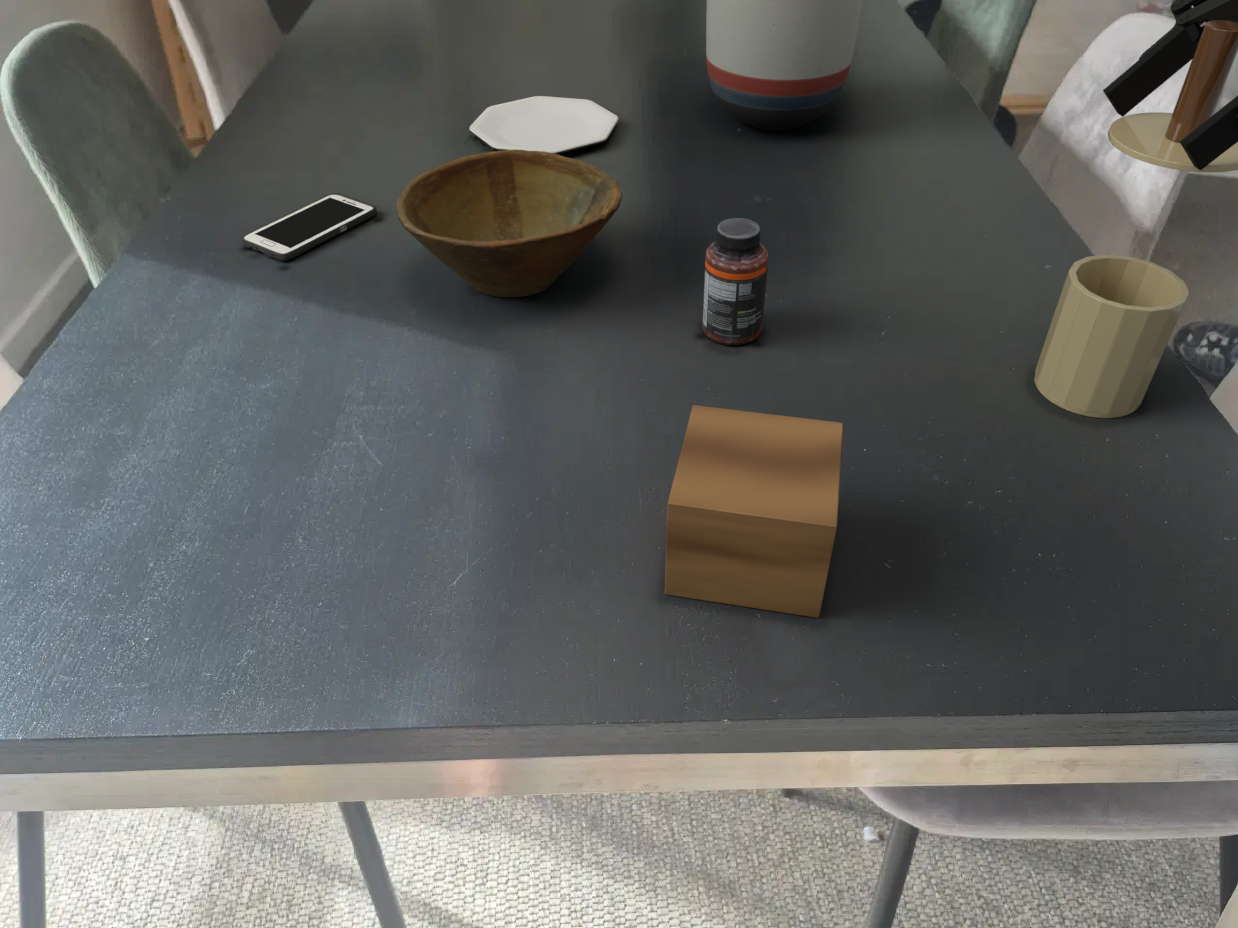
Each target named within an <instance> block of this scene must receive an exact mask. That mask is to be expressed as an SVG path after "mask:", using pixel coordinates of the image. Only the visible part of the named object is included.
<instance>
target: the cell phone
mask: <svg viewBox="0 0 1238 928" xmlns="http://www.w3.org/2000/svg"><path fill="white" fill-rule="evenodd" d="M377 214H378V212H377V207H376V206H375V205H373V204H371V203H368V202H365V201H364V200H360V199H358V198H357V199H356V198H354V197H352V196H348V195H346V194H342V193H339V192H331V193H329V194H327V195H325V196H322V197H320V198H318V199H316V200H314V201H312V202H310V203H308V204H305V205H304V206H301V207H299V208H297V209H295V210H293V211H291V212H288V213H287V214H285V215H283V216H281V217H279V218H276V219H275V220H272V221H270V222H268V223H266V224H264V225H261V226H259V227H258V228H256V229H254V230H251V231H250V232H247V233H245V234H244V235H242V237H241V242H242V245H243V246H244V247H246V248H247V249H252V250H253V251H256V252H261V253H263V254H264V255H265V256H268V257H271V258H274V259H276V260H279V261H282V262H286V261H289V260H291V259H294V258H296V257H298V256H299V255H302V254H304V253H305V252H307V251H309V250H311V249H313V248H315V247H317V246H319V245H320V244H322V243H325V242H326V241H328V240H331V239H332V238H334V237H336V236H338V235H340V234H342V233H343V232H345V231H348V230H350V229H351V228H353V227H355V226H357V225H359V224H361V223H363V222H366V221H367V220H369V219H371V218H373V217H374V216H376V215H377Z"/></svg>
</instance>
